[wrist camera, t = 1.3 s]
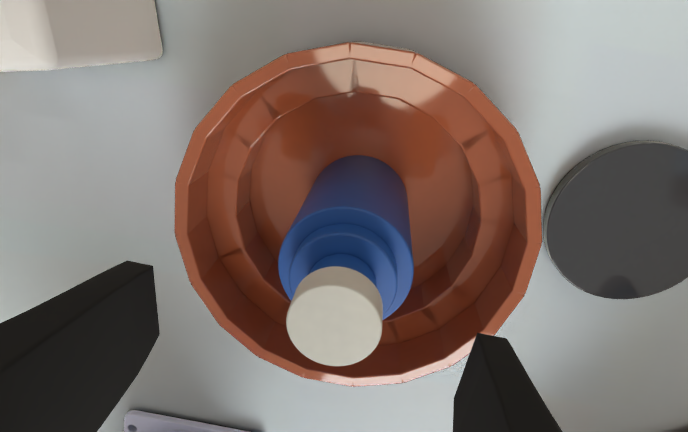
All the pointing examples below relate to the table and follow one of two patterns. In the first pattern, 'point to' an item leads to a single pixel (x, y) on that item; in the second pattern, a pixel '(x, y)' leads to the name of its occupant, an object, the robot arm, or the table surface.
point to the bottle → (347, 260)
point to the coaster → (622, 221)
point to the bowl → (391, 148)
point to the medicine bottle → (76, 33)
